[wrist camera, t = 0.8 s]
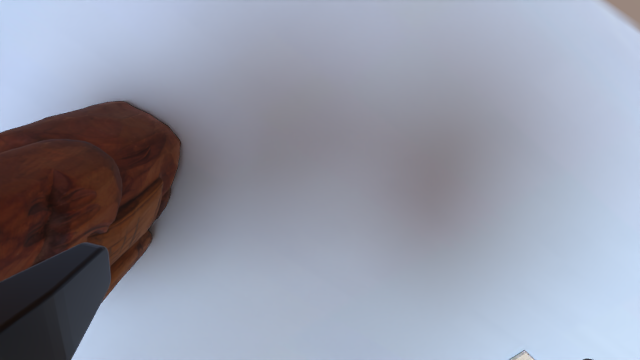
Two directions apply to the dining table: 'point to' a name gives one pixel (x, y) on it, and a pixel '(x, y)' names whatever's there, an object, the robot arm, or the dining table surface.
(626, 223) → the dining table surface
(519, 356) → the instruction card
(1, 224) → the wooden figurine
